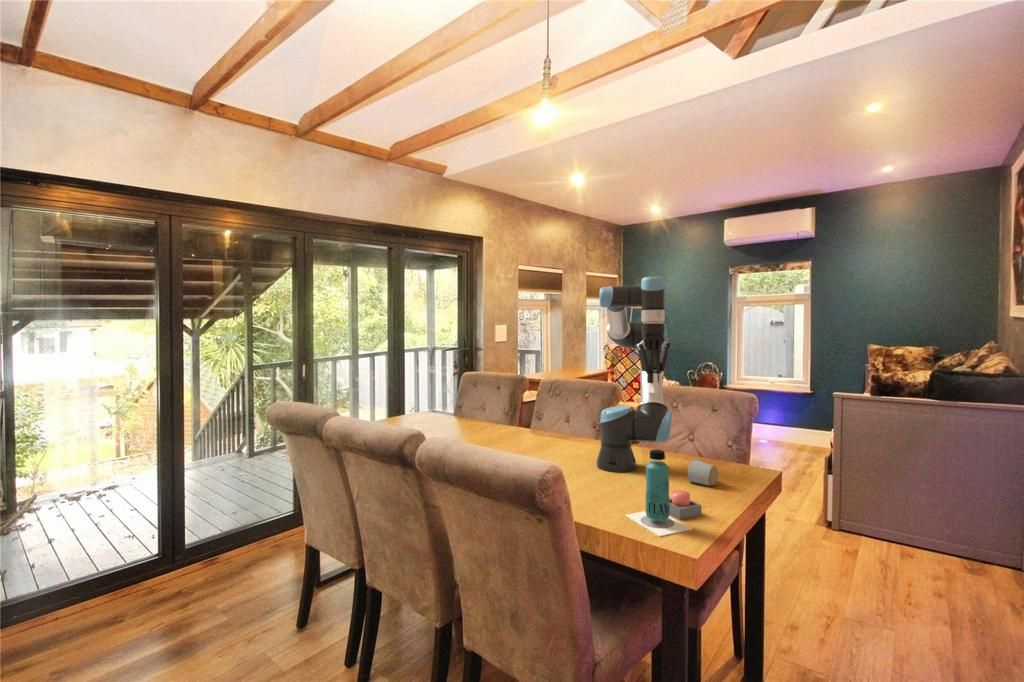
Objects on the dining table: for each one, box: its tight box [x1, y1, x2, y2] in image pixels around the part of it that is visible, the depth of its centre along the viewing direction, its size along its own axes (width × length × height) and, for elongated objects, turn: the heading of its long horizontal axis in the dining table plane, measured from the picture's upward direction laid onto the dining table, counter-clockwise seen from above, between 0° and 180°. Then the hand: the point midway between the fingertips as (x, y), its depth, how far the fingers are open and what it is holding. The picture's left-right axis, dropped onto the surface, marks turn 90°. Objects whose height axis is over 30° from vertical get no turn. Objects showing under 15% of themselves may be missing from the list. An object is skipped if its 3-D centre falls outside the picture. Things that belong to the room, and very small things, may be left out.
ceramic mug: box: [687, 459, 719, 487], centre depth 166 cm, size 11×8×8 cm
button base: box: [669, 497, 703, 521], centre depth 140 cm, size 8×8×3 cm
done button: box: [671, 489, 691, 507], centre depth 140 cm, size 5×5×5 cm
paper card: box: [624, 510, 693, 538], centre depth 133 cm, size 15×11×1 cm
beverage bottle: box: [644, 449, 670, 520], centre depth 133 cm, size 6×7×20 cm
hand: (653, 392), depth 161 cm, fingers closed
